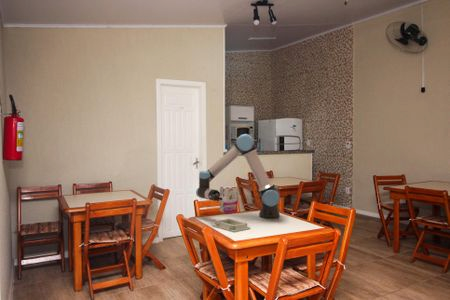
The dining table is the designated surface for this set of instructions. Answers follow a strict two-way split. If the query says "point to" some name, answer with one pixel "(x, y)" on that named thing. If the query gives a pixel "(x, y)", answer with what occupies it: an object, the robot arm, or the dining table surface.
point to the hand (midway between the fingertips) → (233, 198)
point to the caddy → (231, 225)
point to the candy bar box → (228, 199)
